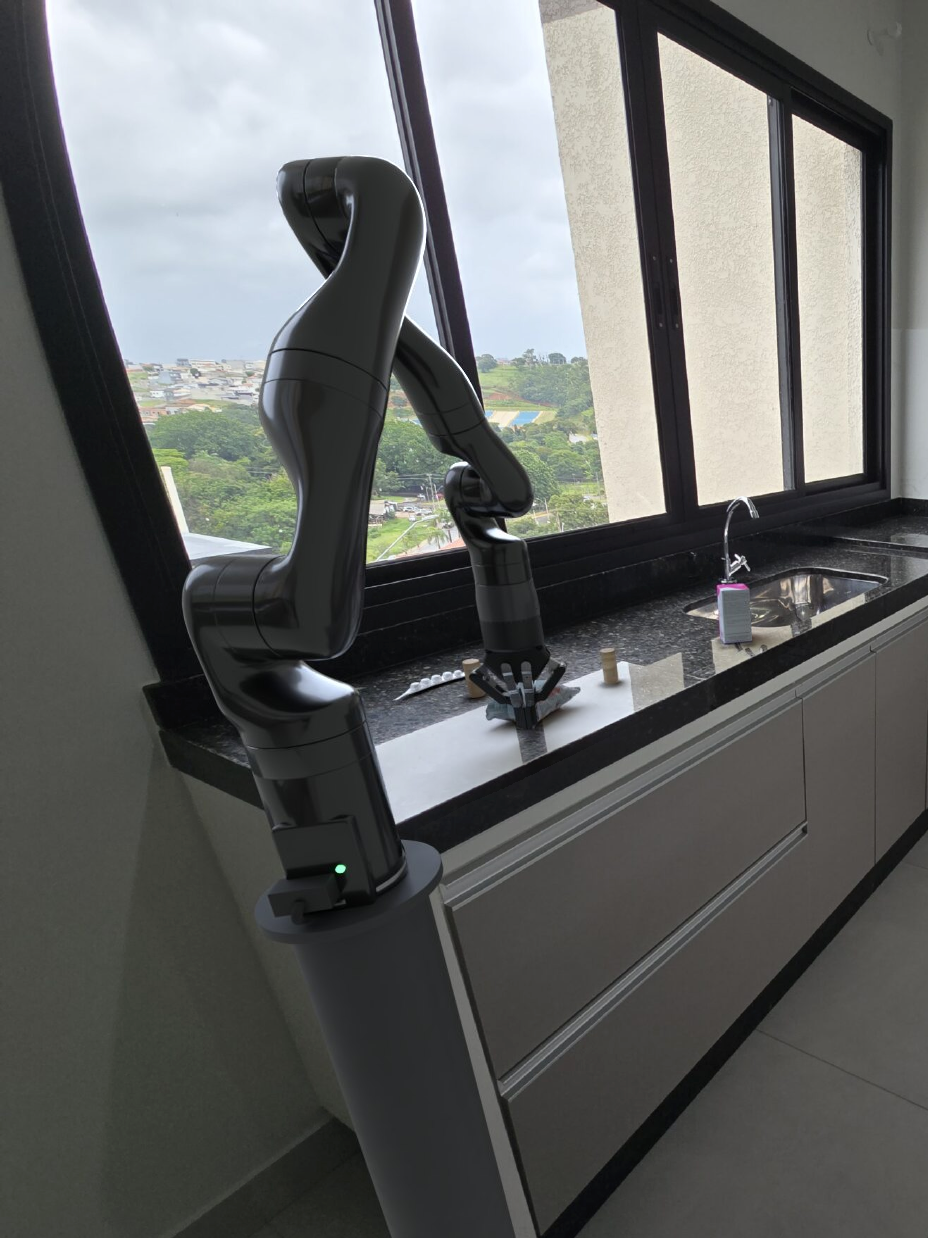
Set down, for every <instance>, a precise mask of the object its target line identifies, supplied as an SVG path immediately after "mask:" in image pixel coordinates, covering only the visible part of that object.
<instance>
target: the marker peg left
mask: <svg viewBox="0 0 928 1238" xmlns="http://www.w3.org/2000/svg"><path fill="white" fill-rule="evenodd" d="M479 666H481V664H480V659H478V658H470V659H469V658H468V659H465V660H463V661H462V668H463V672H464V674H465V677H464V679H465V683H466V688H467V694H468V697H469V698H471V699H477V698H481V697H484V696H485V695H486V693H485V692H484V691H483V690H482V689H480V688H479V687H478V686H477V685H476V684H474V683H473V682H472V681H471V680H470V679H469V675H470V674H471V672H472V671H473V669H474V668H478V667H479Z"/></svg>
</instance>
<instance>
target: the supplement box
mask: <svg viewBox="0 0 928 1238" xmlns="http://www.w3.org/2000/svg"><path fill="white" fill-rule="evenodd" d="M716 595H717V612H718V613H717V614H718V627H719V639H720V641H721V642H722V644H723V645H725V646H726V645H734V644H735V645H736V644H745V643H751V642H753V634H752V633H753V632H752V631H753V630H752V611H751V593H750V588H749V587H748V586H747V585H746V584H745V583H731V584H717V585H716Z"/></svg>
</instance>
